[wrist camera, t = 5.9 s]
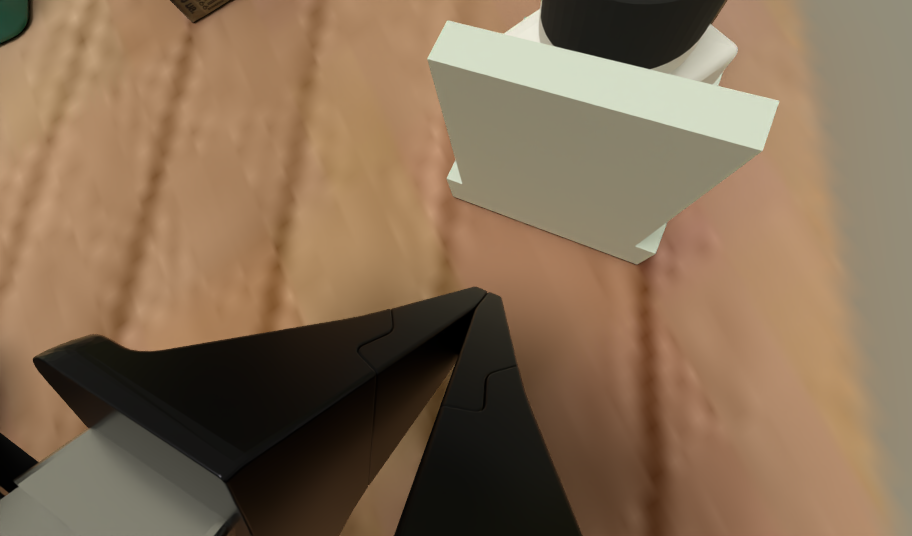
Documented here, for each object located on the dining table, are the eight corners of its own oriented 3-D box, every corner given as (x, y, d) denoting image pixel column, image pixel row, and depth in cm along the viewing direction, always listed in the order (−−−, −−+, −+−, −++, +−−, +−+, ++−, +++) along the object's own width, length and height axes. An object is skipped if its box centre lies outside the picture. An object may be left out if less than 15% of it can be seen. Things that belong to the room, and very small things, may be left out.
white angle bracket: (637, 264, 19) (807, 163, 8) (453, 196, 21) (399, 51, 11) (701, 94, 20) (915, -178, 10) (523, 49, 23) (537, -205, 12)
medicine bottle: (663, 148, 20) (882, -122, 8) (565, 216, 20) (647, 41, 8) (585, 71, 22) (675, -236, 10) (495, 134, 22) (483, -103, 10)
